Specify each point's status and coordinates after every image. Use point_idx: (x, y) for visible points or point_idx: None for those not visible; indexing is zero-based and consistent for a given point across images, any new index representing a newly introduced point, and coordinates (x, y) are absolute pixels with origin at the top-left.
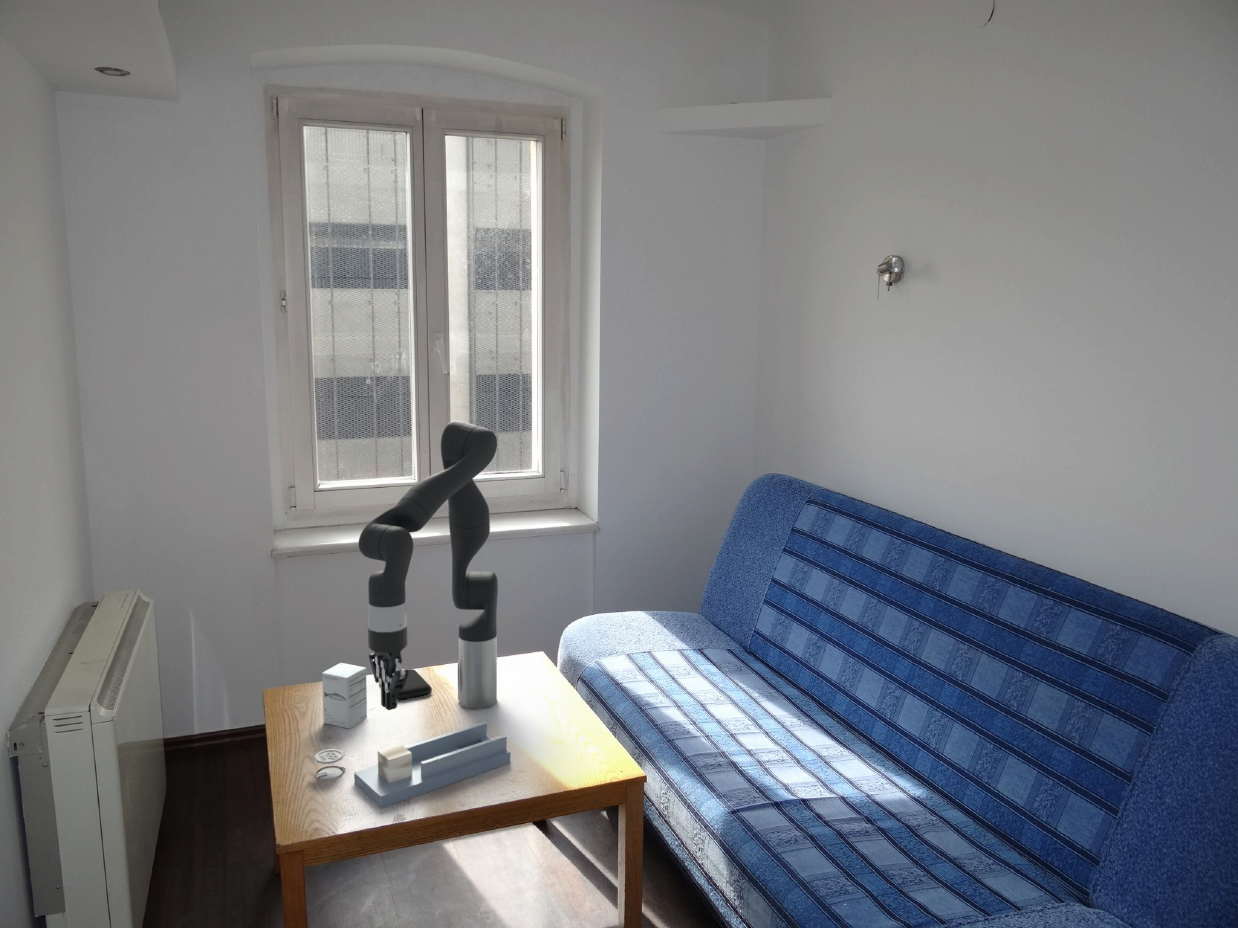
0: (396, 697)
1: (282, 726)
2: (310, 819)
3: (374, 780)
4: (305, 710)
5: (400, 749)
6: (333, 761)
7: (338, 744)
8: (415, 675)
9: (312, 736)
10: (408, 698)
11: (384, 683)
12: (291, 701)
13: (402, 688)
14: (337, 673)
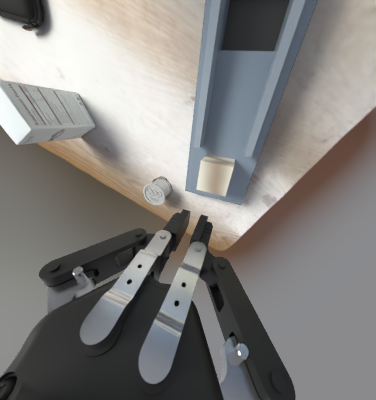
0: (209, 238)
1: (78, 164)
2: None
3: None
4: None
5: (214, 170)
6: (164, 198)
7: (120, 152)
8: None
9: (100, 158)
10: (40, 2)
11: (165, 255)
12: None
13: (232, 269)
14: (18, 131)
